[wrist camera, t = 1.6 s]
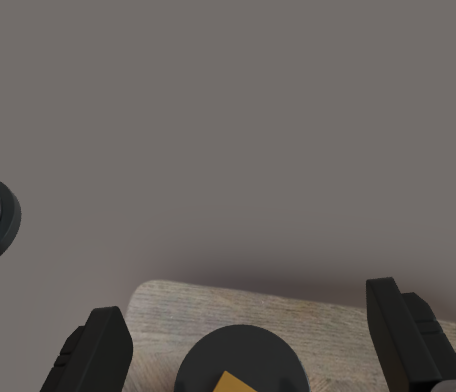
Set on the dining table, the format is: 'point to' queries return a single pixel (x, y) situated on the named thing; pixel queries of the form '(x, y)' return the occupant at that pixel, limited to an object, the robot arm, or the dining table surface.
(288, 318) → the dining table surface
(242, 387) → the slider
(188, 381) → the tumbler
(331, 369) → the dining table surface
